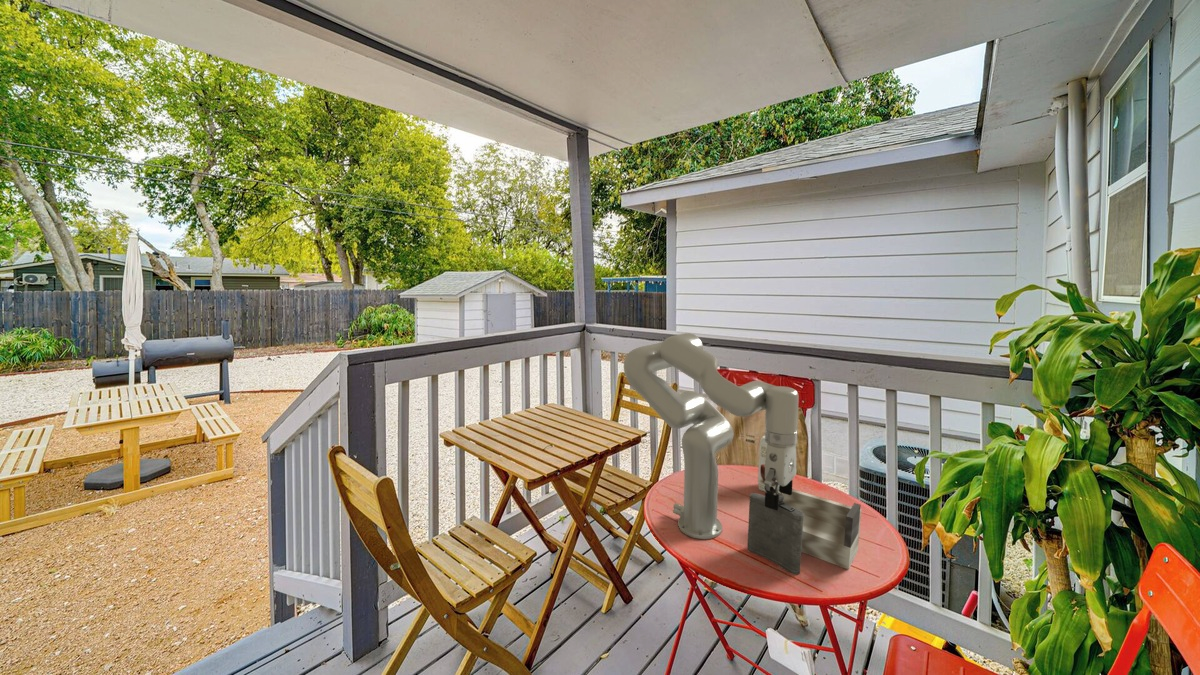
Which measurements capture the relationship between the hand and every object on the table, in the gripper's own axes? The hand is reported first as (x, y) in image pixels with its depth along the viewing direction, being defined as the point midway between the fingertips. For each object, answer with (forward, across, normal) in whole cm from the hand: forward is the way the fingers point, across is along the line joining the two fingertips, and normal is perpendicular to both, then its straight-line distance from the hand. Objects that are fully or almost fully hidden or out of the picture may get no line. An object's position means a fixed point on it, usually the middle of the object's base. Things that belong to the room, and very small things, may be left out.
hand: (778, 500), depth 117 cm
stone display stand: (+17, +13, -5) cm, 22 cm away
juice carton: (+17, +37, +15) cm, 43 cm away
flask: (+17, 0, +1) cm, 17 cm away
